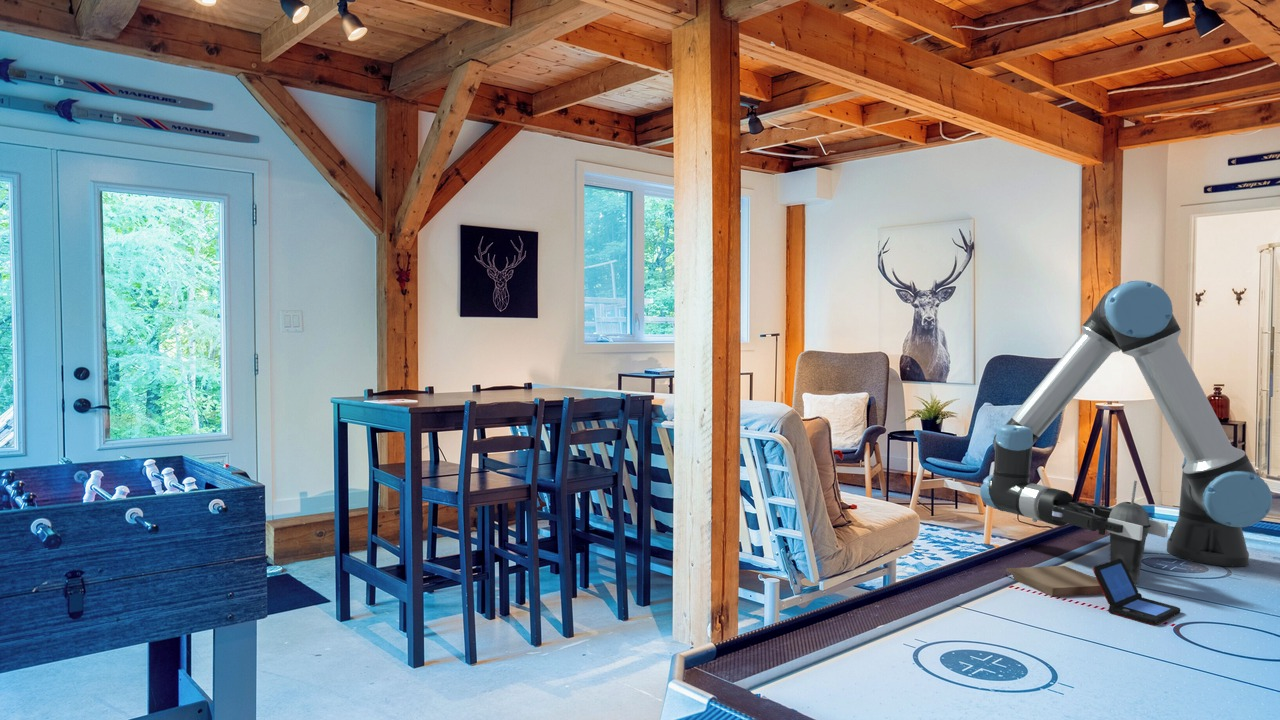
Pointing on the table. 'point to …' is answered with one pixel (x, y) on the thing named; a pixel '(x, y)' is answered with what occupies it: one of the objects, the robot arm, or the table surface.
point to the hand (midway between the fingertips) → (1153, 531)
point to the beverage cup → (1126, 546)
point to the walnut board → (1056, 580)
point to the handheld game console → (1129, 595)
